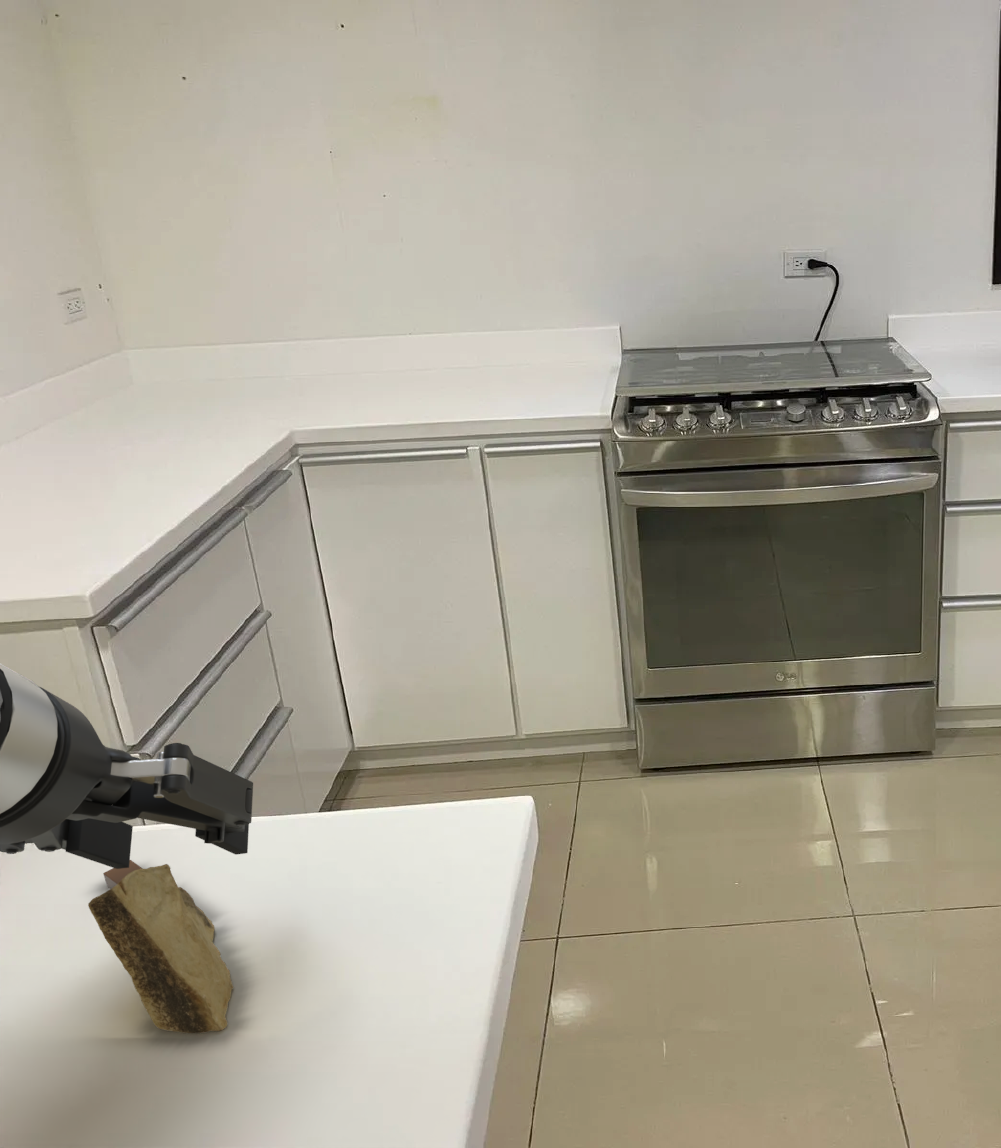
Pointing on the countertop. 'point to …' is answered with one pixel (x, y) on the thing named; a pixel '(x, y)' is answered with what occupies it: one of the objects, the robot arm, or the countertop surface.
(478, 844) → the countertop surface
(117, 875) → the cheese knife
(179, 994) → the rock
